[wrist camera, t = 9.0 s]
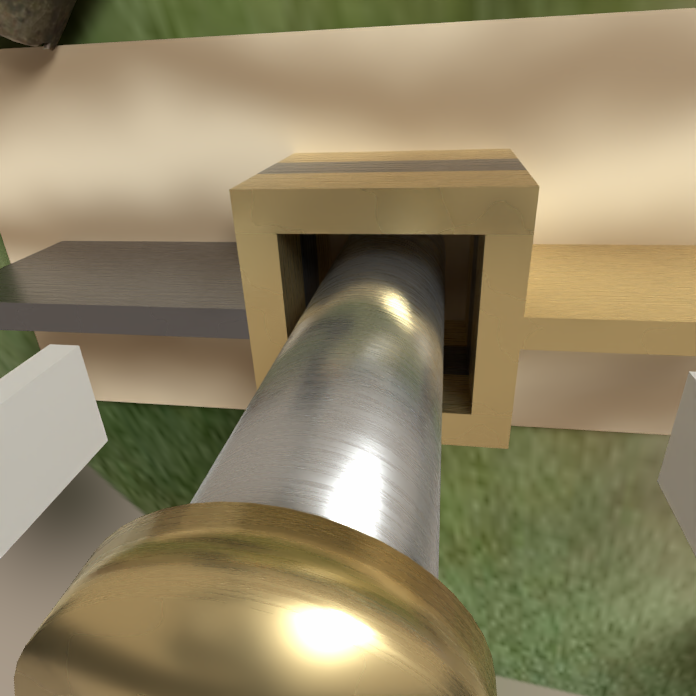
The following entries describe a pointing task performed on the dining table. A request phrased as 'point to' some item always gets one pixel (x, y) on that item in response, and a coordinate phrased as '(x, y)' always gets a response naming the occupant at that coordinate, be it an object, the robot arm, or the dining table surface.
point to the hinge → (376, 218)
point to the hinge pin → (295, 525)
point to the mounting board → (360, 136)
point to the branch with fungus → (35, 21)
